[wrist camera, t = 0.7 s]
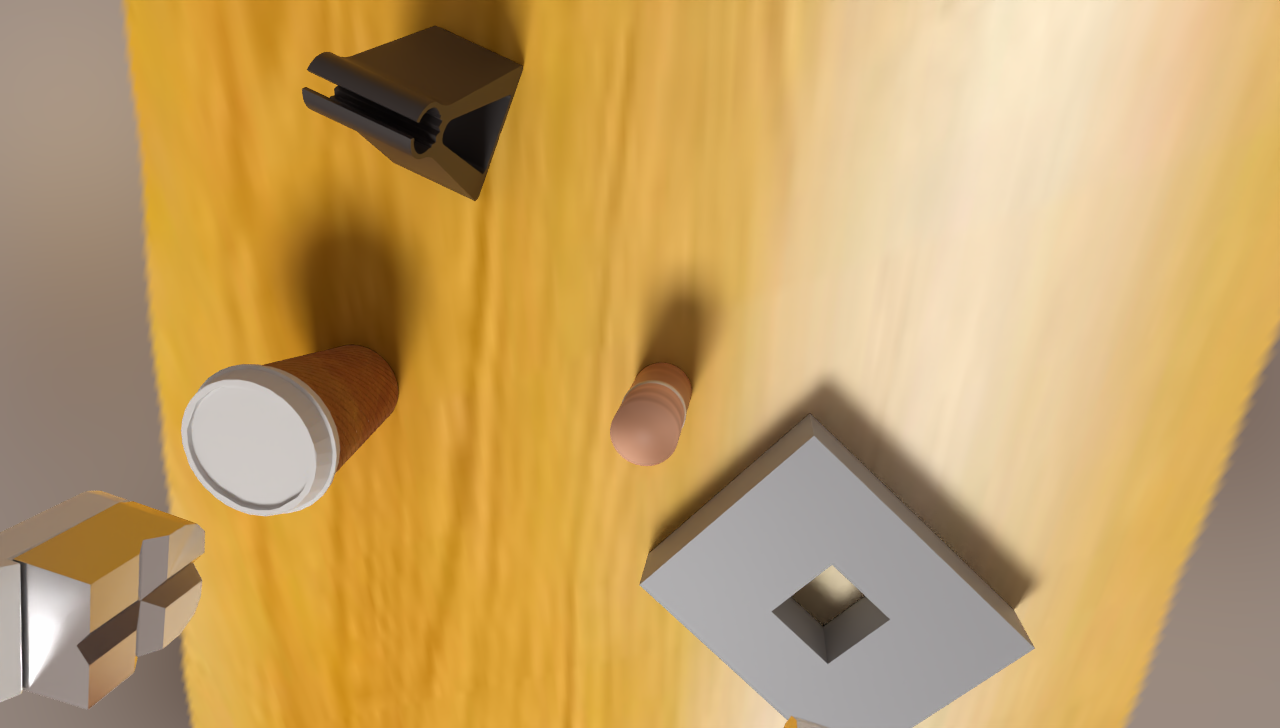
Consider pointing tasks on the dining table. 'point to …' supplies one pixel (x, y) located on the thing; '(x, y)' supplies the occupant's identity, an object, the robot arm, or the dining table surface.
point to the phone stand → (423, 103)
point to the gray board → (867, 556)
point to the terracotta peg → (652, 415)
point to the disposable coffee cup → (285, 426)
